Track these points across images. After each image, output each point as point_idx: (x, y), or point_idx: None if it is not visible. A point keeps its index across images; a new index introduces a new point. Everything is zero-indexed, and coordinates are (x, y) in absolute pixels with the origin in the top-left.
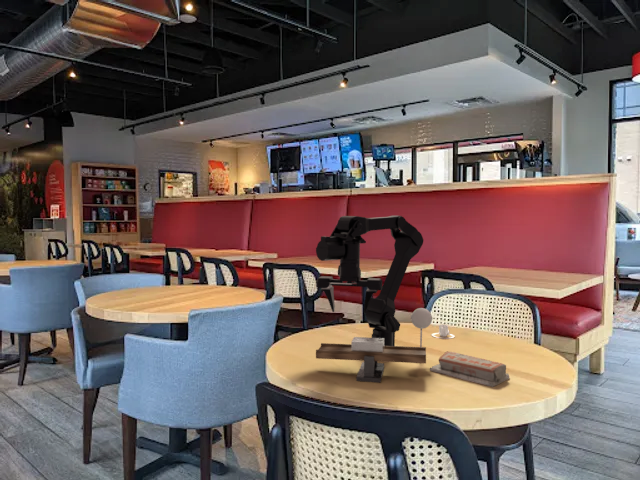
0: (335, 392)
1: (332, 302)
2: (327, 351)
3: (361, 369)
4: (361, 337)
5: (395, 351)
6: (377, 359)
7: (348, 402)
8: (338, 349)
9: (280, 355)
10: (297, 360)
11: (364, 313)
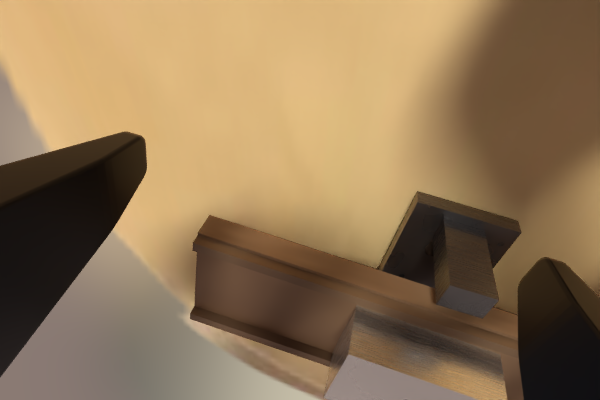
0: (289, 356)
1: (60, 297)
2: (236, 331)
3: None
4: (385, 370)
5: None
6: None
7: (315, 394)
8: (281, 303)
9: (10, 5)
10: (120, 96)
11: (524, 287)
